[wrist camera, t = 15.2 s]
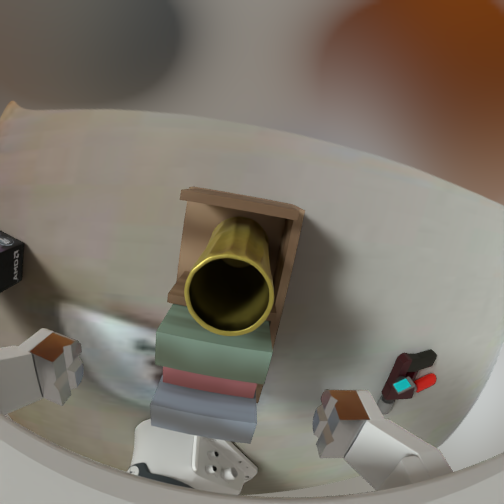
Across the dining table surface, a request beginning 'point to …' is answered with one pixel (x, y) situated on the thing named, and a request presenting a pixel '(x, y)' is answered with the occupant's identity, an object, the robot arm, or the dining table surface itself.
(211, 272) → the vase
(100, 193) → the dining table surface
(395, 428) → the robot arm
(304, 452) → the dining table surface
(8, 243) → the graphics card box
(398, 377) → the toy gun
